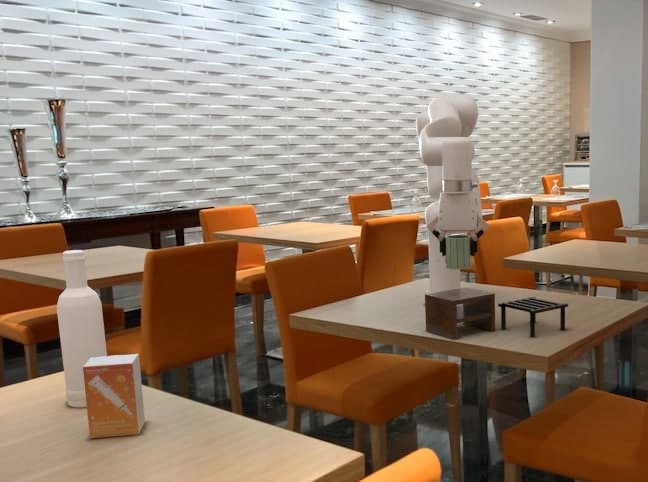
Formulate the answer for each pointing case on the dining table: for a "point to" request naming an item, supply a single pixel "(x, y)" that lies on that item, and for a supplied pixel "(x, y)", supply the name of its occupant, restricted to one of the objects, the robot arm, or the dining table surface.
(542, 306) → the rack
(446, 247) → the cup
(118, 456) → the dining table surface
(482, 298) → the shelf
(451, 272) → the robot arm
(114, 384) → the small box
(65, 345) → the bottle
